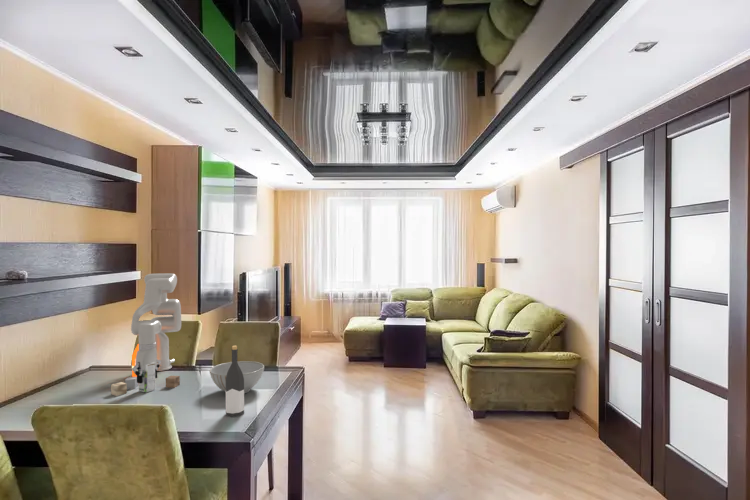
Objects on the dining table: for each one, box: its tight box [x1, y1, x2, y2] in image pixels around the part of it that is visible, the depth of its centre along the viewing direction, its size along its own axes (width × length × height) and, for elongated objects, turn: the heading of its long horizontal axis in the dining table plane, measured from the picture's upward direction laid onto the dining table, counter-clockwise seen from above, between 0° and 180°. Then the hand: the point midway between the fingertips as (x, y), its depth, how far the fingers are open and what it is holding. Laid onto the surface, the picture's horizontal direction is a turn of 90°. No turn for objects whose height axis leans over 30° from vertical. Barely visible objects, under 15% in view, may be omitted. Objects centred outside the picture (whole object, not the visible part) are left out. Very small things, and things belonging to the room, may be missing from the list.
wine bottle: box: [225, 345, 245, 418], centre depth 198 cm, size 8×8×30 cm
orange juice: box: [131, 343, 139, 377], centre depth 249 cm, size 8×9×20 cm
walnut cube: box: [165, 375, 181, 389], centre depth 238 cm, size 5×5×5 cm
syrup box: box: [138, 362, 156, 393], centre depth 231 cm, size 6×6×14 cm
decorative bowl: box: [209, 360, 265, 395], centre depth 229 cm, size 27×27×12 cm
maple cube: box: [110, 381, 128, 397], centre depth 226 cm, size 5×5×5 cm
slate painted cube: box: [124, 376, 139, 390], centre depth 236 cm, size 5×5×5 cm
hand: (147, 380), depth 231 cm, fingers open, 8 cm apart
